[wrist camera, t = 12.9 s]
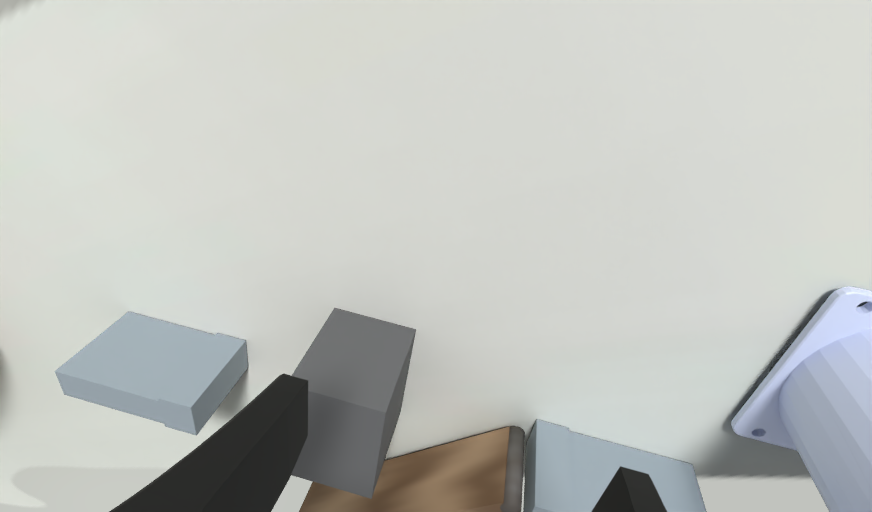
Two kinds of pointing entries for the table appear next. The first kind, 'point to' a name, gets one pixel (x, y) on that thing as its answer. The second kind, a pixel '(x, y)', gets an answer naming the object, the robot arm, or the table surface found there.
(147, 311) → the table surface
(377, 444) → the grey rectangular prism
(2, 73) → the table surface
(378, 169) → the table surface
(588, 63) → the table surface
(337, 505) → the door
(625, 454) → the wall frame
